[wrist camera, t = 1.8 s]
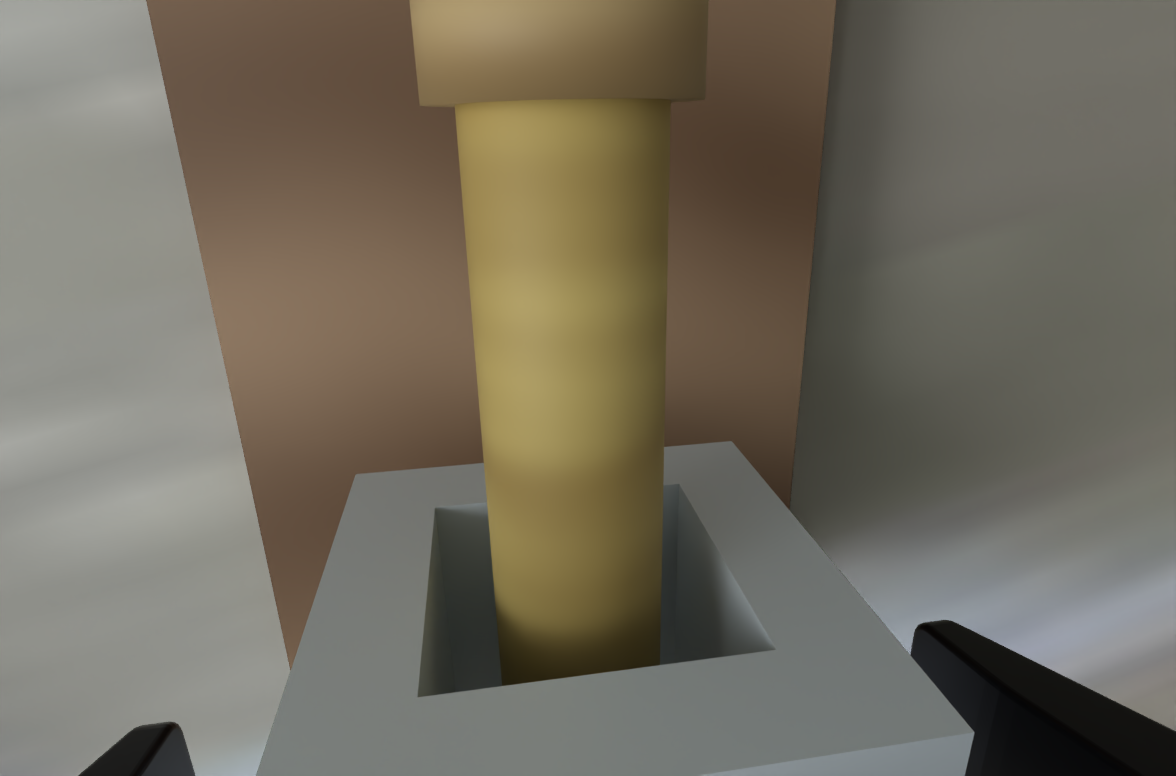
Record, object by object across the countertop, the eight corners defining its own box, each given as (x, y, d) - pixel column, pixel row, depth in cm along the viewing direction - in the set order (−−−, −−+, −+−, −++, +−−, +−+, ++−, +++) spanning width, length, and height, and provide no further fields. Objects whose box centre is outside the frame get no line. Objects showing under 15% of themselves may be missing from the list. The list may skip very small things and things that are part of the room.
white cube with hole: (715, 730, 11) (881, 1138, 7) (402, 776, 10) (351, 1266, 6) (731, 441, 9) (974, 731, 5) (356, 474, 9) (231, 847, 4)
